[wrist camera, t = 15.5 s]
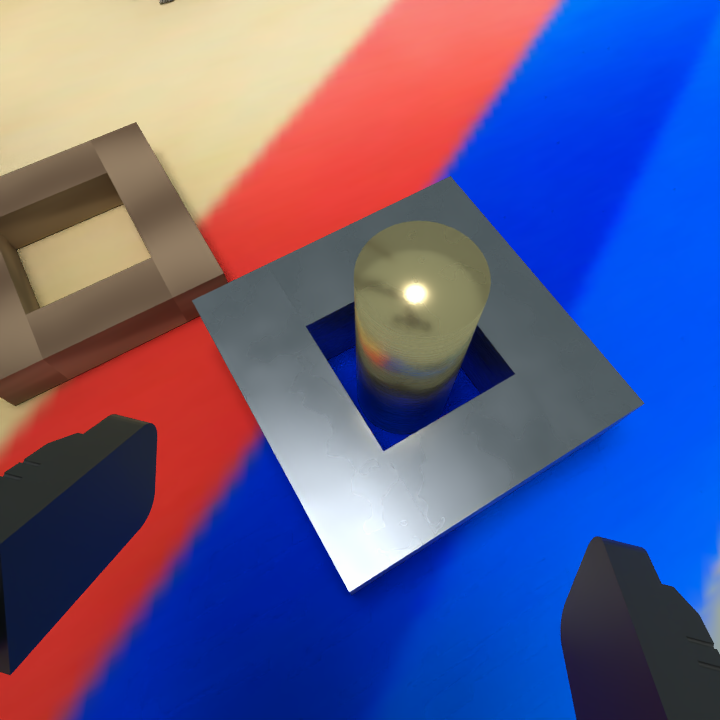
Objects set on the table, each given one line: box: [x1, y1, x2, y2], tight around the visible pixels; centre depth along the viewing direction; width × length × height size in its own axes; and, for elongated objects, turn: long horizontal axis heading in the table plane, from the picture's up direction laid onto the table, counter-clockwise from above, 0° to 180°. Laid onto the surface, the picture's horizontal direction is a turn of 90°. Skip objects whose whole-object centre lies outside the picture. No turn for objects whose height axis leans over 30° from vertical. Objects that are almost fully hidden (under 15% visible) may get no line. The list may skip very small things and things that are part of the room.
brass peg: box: [354, 221, 491, 434], centre depth 23 cm, size 4×4×10 cm
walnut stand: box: [0, 122, 228, 406], centre depth 30 cm, size 12×12×2 cm
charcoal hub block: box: [192, 176, 644, 595], centre depth 26 cm, size 14×14×4 cm
